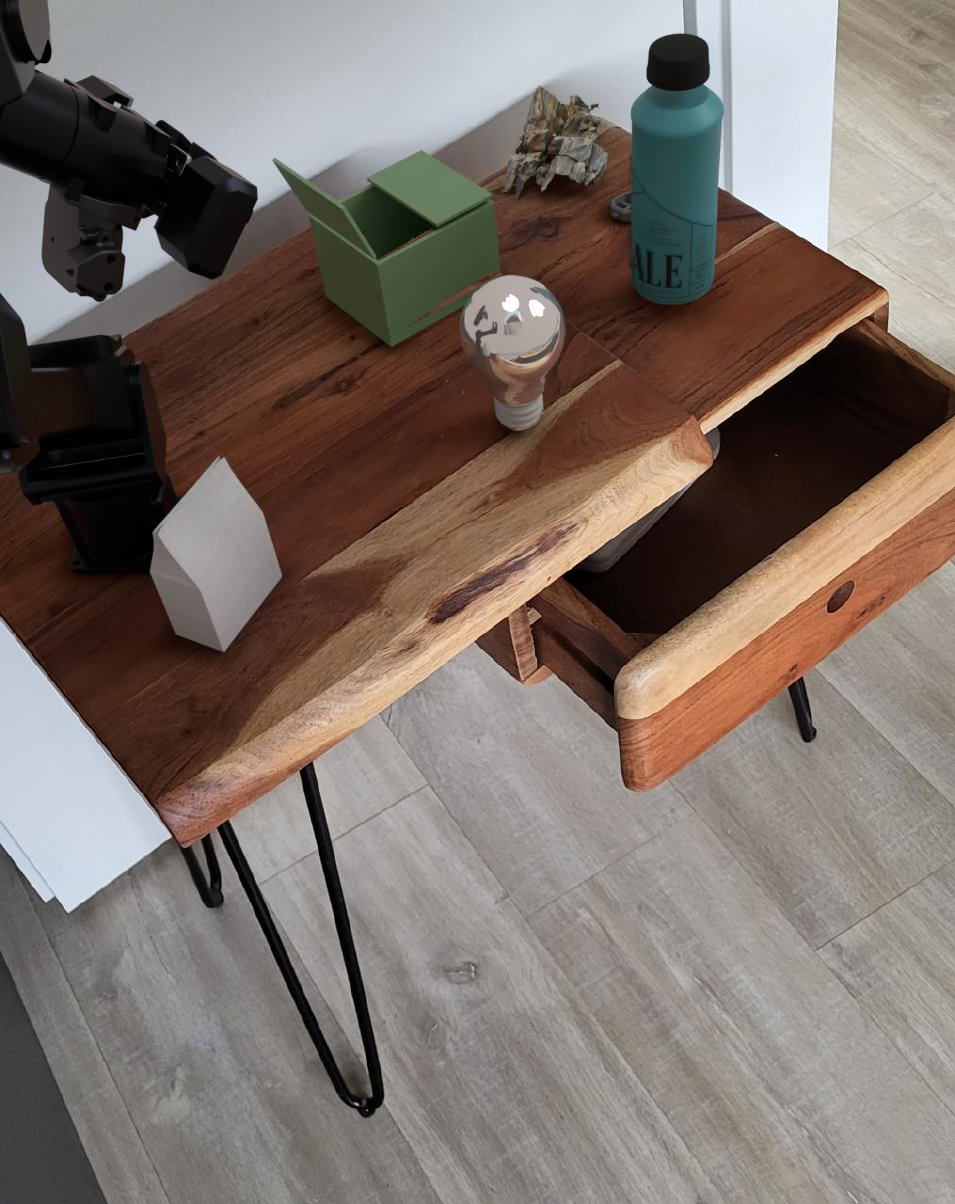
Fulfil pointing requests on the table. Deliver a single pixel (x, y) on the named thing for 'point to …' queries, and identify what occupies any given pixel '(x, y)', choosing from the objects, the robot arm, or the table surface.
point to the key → (619, 202)
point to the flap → (324, 208)
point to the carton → (409, 247)
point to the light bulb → (513, 343)
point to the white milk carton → (214, 559)
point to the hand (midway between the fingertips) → (248, 215)
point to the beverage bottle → (675, 173)
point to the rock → (557, 143)
